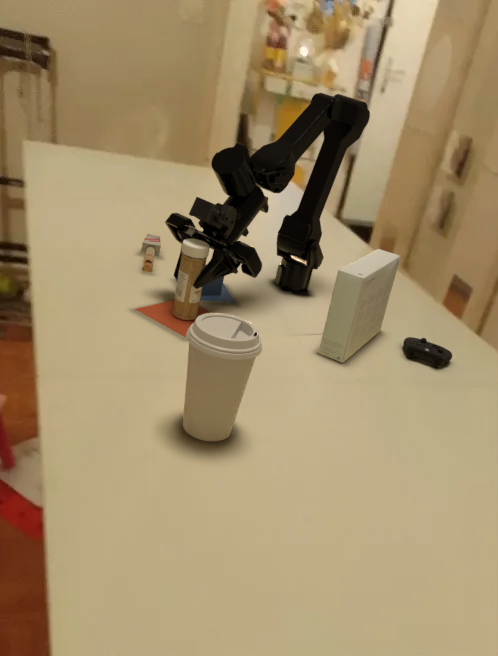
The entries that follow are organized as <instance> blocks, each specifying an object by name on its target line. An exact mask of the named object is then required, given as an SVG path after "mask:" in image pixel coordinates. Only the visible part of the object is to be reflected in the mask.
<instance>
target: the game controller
mask: <svg viewBox="0 0 498 656" xmlns="http://www.w3.org/2000/svg"><path fill="white" fill-rule="evenodd" d="M403 347H404V348H405V353H406V357H407V358H408V359H412V358H413V357H417V358H420V359H423V360H426V361H429V362H432V363H433V367H434V368H440V367H441V366H442V365H444V364H445V363H448V362H450V361H451V360H452V359H453V353H452V351H450V350H449V349H447V348H445V347H443V346H441V345H438V344H436V343H433V342H430V341H427V338H425V337H421V338H418V337H414V336H413V337H412V336H408V337H405V338H404V340H403Z"/></svg>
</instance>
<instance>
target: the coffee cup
mask: <svg viewBox="0 0 498 656" xmlns="http://www.w3.org/2000/svg"><path fill="white" fill-rule="evenodd" d="M185 338H186V340H187V342H188V352H187V367H186V379H185V382H186V383H185V392H184V403H183V415H182V428H183V430H184V431H185V433H187V434H188V435H189V436H191V437H192V438H195V439H197V440H200V441H205V442H221V441H224V440H226V439H227V438H229V437H230V435H231V433H232V430H233V428H234V425H235V422H236V418H237V415H238V412H239V410H240V406H241V403H242V400H243V397H244V393H245V390H246V388H247V385H248V381H249V379H250V376H251V372H252V370H253V366H254V363H255V360H256V358H257V357H258V356H259V355H260V354H261V353H262V351H263V343H262V339H261V337H260V332H259V329H258V327H257V326H256V325H255V324H254V323H252V322H251V321H249V320H247V319H245V318H243V317H240V316H238V315H234V314H229V313H224V312H210V313H206V314H202V315H200V316H198V317H197V318H196V320H195V322H194V323H193V324H192V325H191V326H190V327H189V329H188V331H187V333H186V337H185Z"/></svg>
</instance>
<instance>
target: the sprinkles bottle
mask: <svg viewBox="0 0 498 656" xmlns="http://www.w3.org/2000/svg"><path fill="white" fill-rule="evenodd" d="M181 246H182V249H181V248H180V251H182V252H181V254H182V256H181V262H180V268H179V273H178V280H177V281H176V287H175V294H174V300H175V303H174V309H173V311H172V313H173V315H174V316H175V317H177V318H179V319H182V320H195V319H196V318H197V317H198V307H200V306H199V305H200V301H201V300H200V297H201V291H202V287H200V288H198V289H196V288H194V286H193V284H194V283H195V281H196V279H197V278H198V276H199V275H200V273H201V272H202V271H203V269H204V268H205V265H207V259H208V257H209V255H210V249H211V248H210V246H209V244H207V243H206V242H204V241H201V240H197V239H185V240H183V243H182V244H181Z"/></svg>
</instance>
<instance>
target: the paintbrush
mask: <svg viewBox="0 0 498 656" xmlns="http://www.w3.org/2000/svg"><path fill="white" fill-rule="evenodd" d="M161 247H162V245H161V236H159V235H155V234H149V233H147V234H146V236H145V237H144V239H143V241H142V244H141V250H140V254H144V259H143V264H142V271H143V272H147V273H152V272H153V267H154V260H155V257H160V251H161Z"/></svg>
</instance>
